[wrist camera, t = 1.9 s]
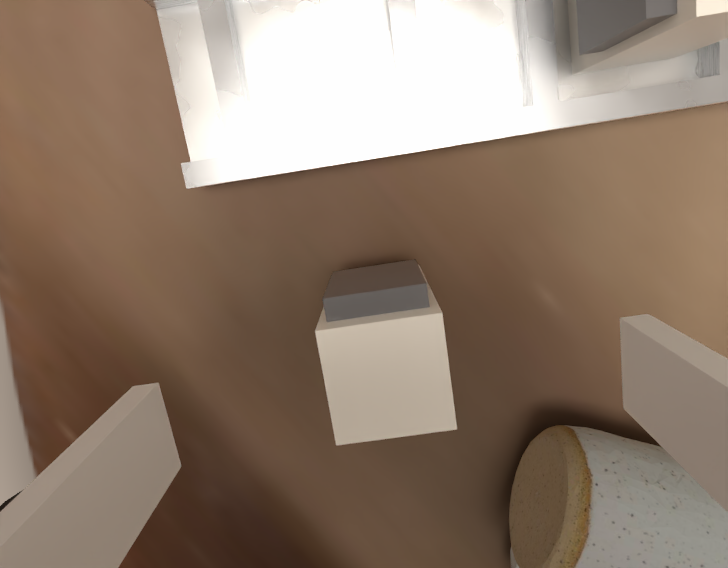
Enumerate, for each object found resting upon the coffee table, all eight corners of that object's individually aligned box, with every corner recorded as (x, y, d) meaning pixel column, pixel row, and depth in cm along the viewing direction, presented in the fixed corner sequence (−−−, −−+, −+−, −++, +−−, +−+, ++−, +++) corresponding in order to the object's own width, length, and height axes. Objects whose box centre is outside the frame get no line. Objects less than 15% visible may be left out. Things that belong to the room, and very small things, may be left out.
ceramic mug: (535, 389, 25) (604, 489, 17) (693, 429, 25) (827, 544, 18) (469, 564, 27) (504, 717, 20) (613, 598, 28) (701, 762, 20)
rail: (754, 98, 22) (800, 89, 19) (205, 186, 23) (186, 188, 20) (756, -116, 20) (808, -154, 17) (162, -8, 21) (136, -30, 19)
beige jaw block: (347, 357, 24) (336, 445, 17) (331, 260, 23) (310, 306, 16) (430, 345, 24) (457, 429, 16) (416, 247, 23) (439, 287, 15)
